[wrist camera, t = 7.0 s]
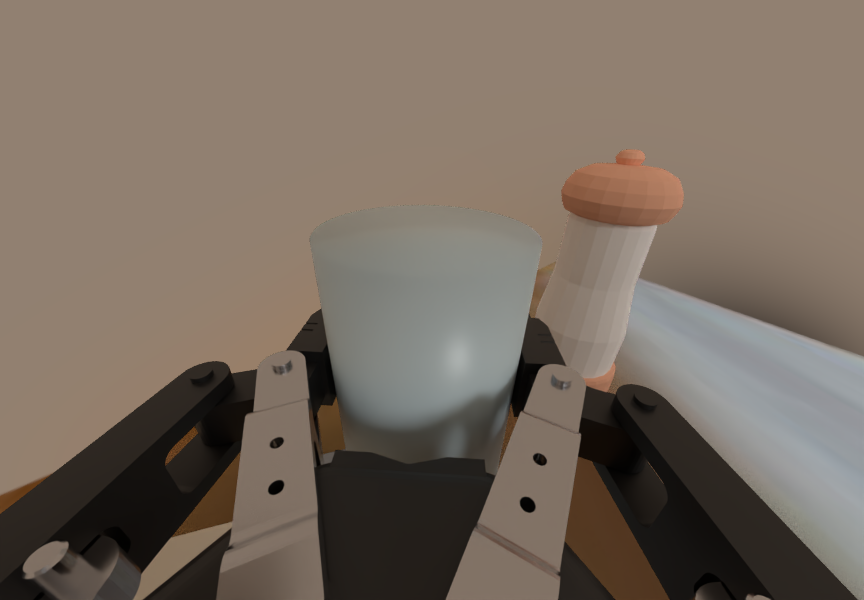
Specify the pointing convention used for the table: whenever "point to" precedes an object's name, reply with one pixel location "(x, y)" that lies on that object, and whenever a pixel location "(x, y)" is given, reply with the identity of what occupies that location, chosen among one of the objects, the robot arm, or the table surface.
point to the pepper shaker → (604, 258)
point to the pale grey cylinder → (425, 326)
